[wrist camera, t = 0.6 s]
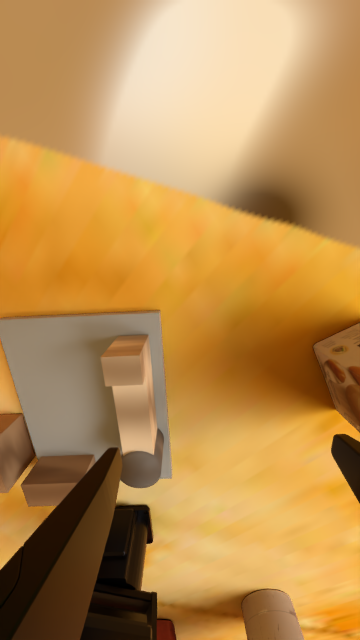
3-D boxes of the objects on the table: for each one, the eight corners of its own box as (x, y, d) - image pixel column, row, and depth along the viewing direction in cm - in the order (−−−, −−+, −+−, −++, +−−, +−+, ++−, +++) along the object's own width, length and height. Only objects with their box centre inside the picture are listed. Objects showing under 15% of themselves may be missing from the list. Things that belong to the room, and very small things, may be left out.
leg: (165, 452, 22) (161, 496, 18) (129, 454, 22) (117, 498, 18) (155, 334, 19) (147, 355, 14) (112, 336, 19) (92, 357, 14)
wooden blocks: (101, 466, 24) (86, 504, 20) (19, 469, 24) (-11, 507, 20) (90, 410, 22) (71, 441, 18) (0, 414, 22) (-37, 446, 18)
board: (172, 469, 24) (171, 478, 23) (50, 474, 25) (44, 483, 24) (160, 310, 19) (159, 312, 18) (3, 317, 19) (-6, 320, 18)
